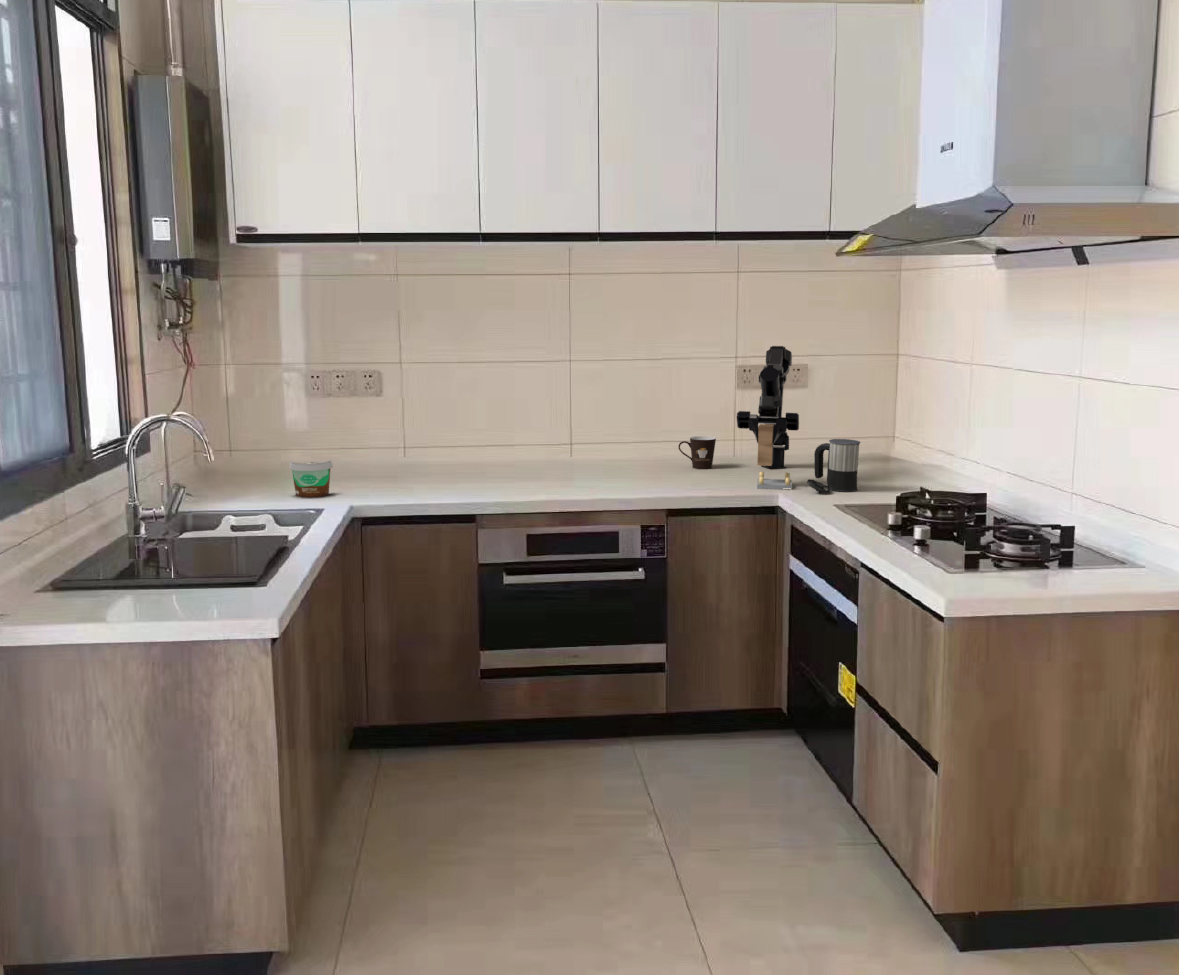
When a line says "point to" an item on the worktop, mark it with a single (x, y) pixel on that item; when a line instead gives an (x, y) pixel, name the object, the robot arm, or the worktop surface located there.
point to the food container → (311, 478)
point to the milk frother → (837, 466)
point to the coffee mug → (701, 451)
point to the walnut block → (765, 445)
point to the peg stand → (774, 482)
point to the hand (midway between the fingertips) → (765, 442)
